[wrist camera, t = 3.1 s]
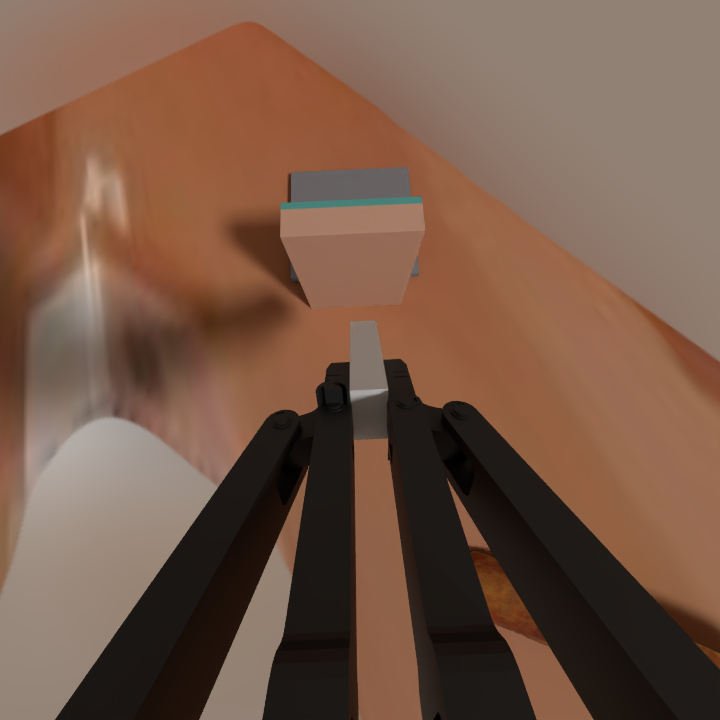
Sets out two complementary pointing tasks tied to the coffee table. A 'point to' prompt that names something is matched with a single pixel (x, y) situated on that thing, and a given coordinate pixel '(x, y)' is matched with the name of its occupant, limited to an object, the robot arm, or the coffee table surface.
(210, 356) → the coffee table surface
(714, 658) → the brown curved bar
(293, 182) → the pad
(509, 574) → the robot arm
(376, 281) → the tile
